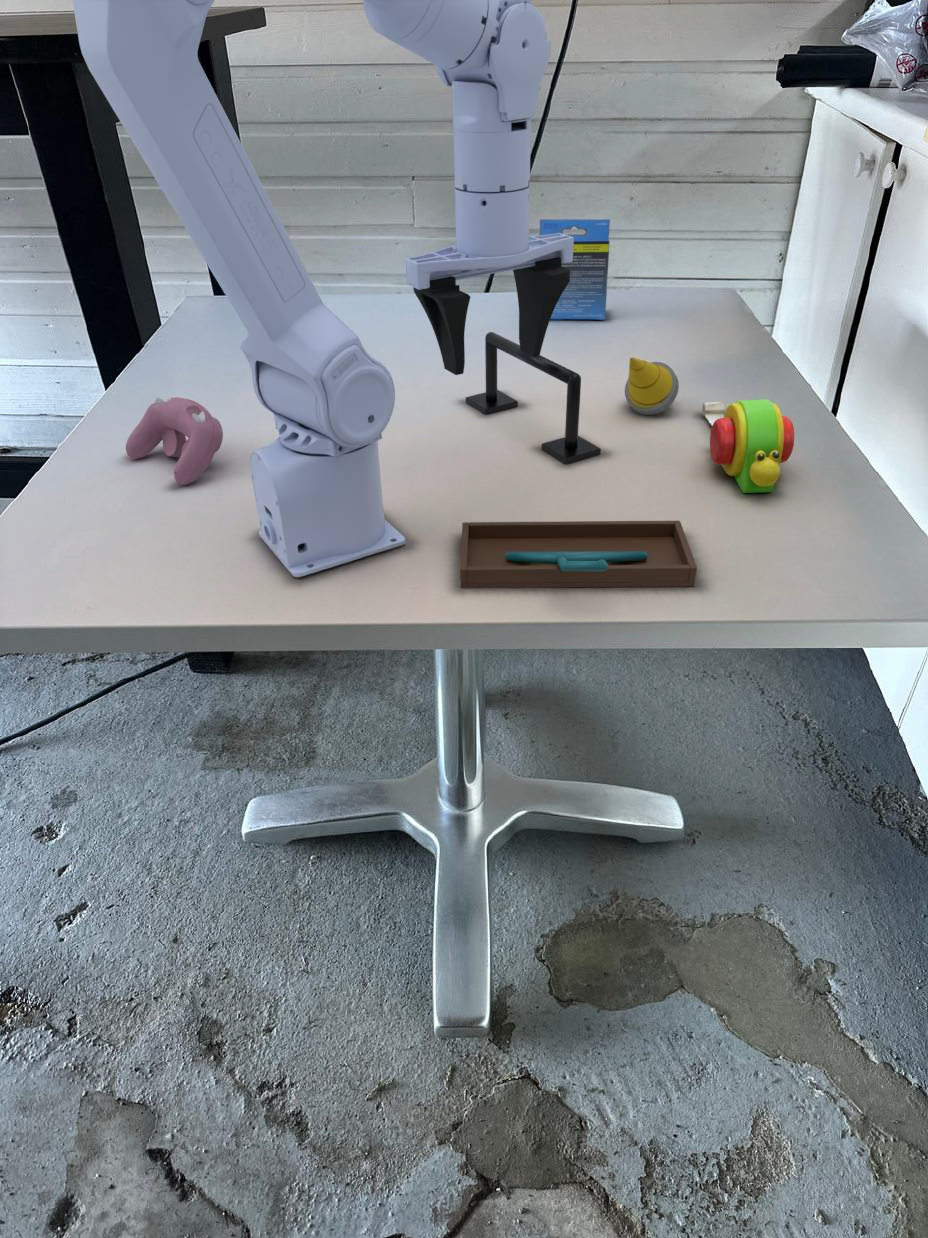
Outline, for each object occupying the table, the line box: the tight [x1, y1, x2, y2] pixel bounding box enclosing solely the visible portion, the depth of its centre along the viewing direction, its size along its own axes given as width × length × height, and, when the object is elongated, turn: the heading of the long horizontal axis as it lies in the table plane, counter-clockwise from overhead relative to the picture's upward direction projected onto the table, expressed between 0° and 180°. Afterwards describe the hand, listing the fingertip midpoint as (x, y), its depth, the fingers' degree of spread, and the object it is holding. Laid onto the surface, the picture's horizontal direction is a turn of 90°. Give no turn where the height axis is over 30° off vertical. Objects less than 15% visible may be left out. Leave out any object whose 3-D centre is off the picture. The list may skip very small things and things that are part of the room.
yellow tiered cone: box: [624, 357, 680, 416], centre depth 89 cm, size 5×5×10 cm
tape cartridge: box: [539, 218, 611, 321], centre depth 114 cm, size 9×4×12 cm, turn 83°
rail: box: [465, 331, 602, 465], centre depth 87 cm, size 4×18×8 cm, turn 31°
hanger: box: [505, 551, 648, 571], centre depth 64 cm, size 11×1×7 cm
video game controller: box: [125, 396, 224, 486], centre depth 82 cm, size 10×5×7 cm, turn 47°
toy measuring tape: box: [701, 398, 795, 494], centre depth 80 cm, size 6×19×7 cm, turn 0°
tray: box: [459, 520, 698, 589], centre depth 67 cm, size 17×7×2 cm, turn 89°
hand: (492, 362), depth 76 cm, fingers open, 7 cm apart
